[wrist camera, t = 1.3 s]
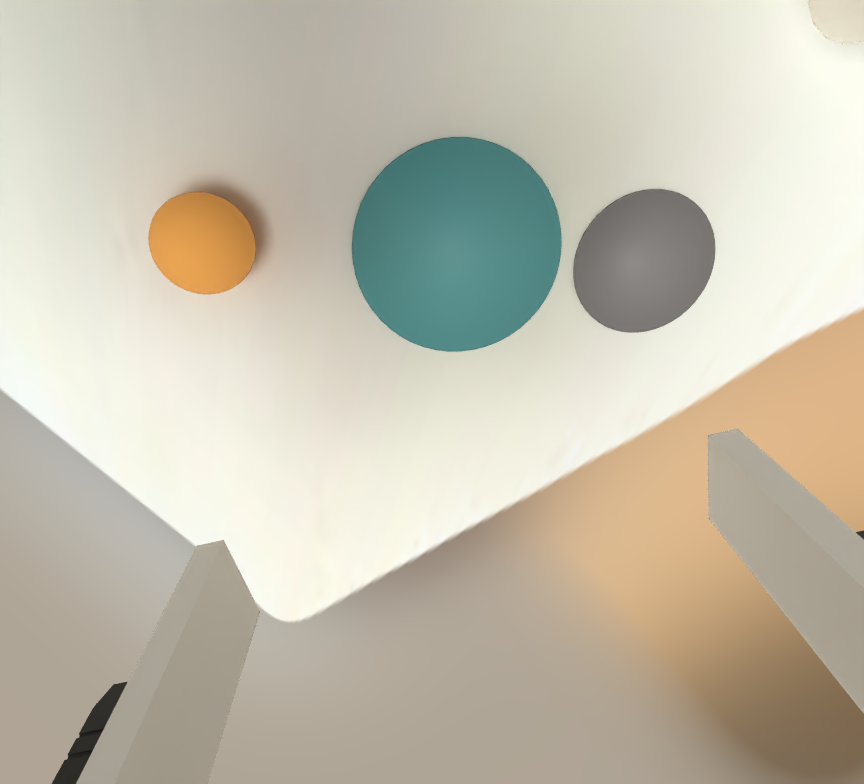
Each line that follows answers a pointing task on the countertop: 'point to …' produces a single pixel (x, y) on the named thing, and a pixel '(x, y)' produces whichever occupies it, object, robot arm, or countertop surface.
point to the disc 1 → (456, 244)
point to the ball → (202, 243)
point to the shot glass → (839, 19)
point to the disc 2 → (644, 260)
